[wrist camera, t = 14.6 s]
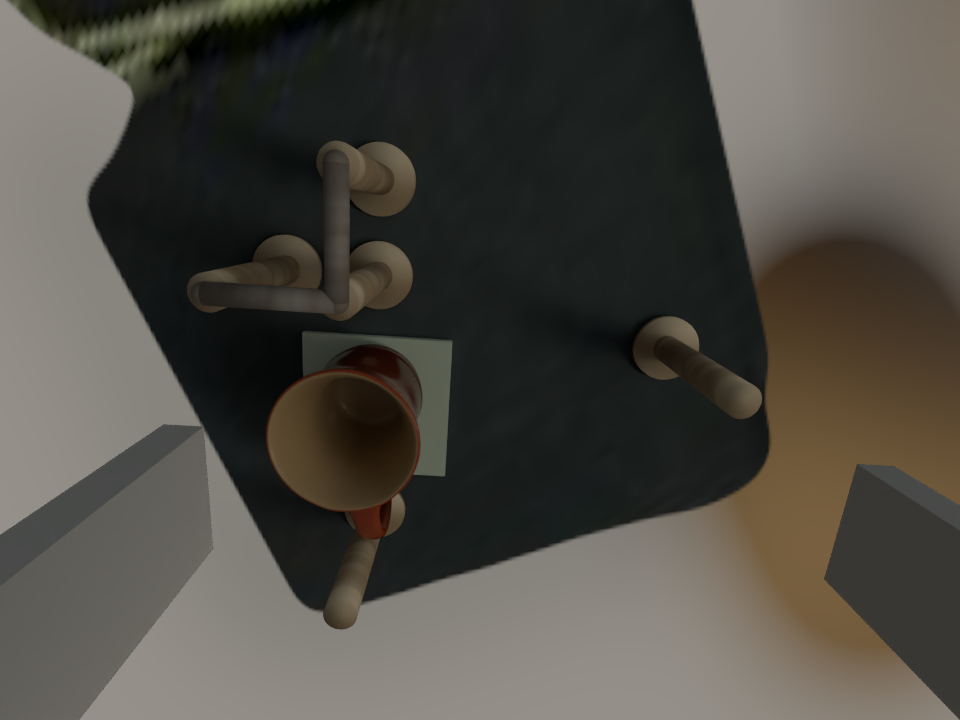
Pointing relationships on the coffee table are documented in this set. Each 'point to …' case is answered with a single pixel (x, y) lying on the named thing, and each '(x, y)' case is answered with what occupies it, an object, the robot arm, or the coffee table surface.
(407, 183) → the light wood frame
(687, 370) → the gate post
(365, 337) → the pad
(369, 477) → the mug
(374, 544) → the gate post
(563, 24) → the coffee table surface
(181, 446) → the robot arm
